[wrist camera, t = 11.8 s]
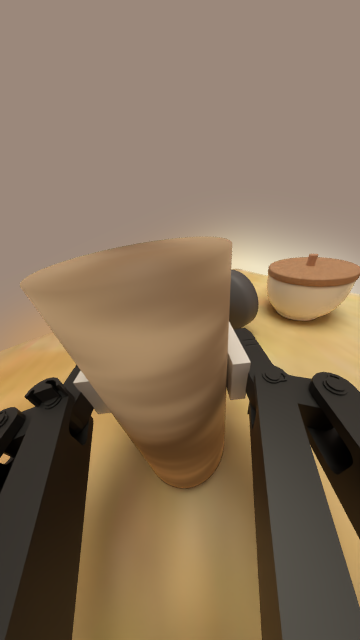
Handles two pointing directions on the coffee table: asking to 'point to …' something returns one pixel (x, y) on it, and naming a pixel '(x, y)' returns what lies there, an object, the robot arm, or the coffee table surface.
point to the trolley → (242, 300)
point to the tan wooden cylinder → (150, 343)
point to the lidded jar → (309, 285)
